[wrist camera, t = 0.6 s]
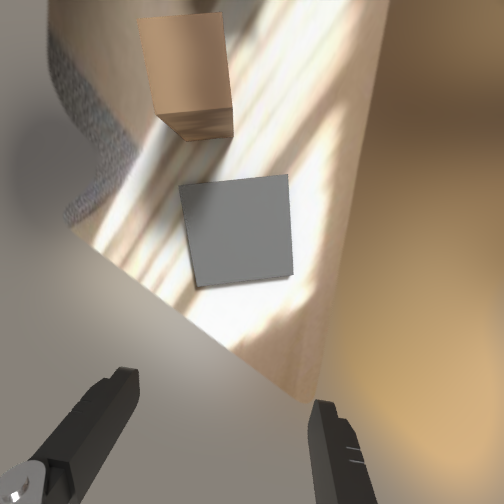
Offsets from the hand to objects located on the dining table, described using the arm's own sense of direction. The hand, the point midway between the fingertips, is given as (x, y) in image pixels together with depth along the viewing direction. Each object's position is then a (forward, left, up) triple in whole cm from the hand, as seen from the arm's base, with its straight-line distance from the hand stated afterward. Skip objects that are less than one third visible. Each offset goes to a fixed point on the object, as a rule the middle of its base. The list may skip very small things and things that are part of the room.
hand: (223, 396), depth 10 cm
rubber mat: (-1, +3, -22) cm, 22 cm away
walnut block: (-12, +12, -22) cm, 28 cm away
